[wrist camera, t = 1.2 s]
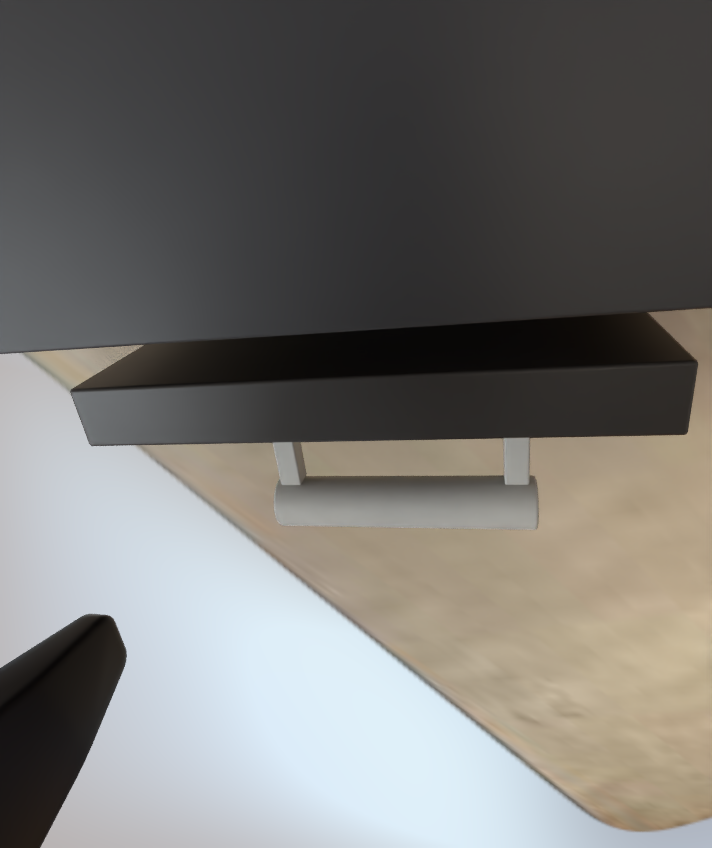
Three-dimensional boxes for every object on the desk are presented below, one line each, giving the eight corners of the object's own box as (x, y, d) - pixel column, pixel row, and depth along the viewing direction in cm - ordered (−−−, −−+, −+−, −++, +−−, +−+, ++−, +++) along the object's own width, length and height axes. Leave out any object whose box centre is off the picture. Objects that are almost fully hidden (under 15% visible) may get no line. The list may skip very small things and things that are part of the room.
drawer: (577, 444, 18) (652, 666, 10) (278, 449, 20) (158, 633, 13) (622, -350, 11) (1015, -1662, 3) (144, -199, 13) (-344, -708, 5)
